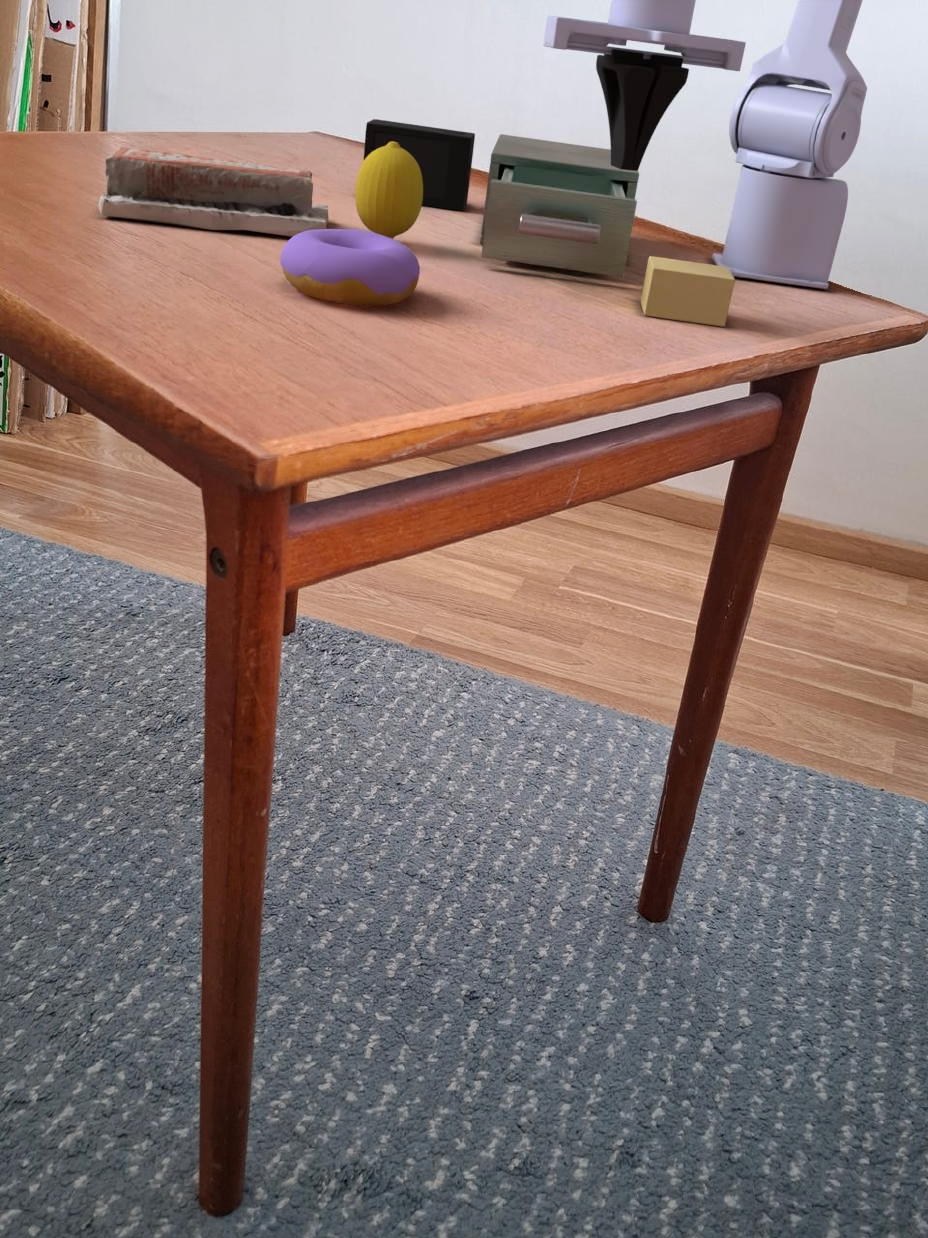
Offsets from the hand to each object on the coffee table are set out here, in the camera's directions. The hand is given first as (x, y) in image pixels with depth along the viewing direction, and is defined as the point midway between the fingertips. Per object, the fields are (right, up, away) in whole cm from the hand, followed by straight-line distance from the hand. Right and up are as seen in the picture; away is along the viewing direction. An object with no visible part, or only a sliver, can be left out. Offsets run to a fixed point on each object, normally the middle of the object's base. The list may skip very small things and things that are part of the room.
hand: (624, 167), depth 88 cm
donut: (-20, -10, -4) cm, 23 cm away
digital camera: (-17, +9, +34) cm, 39 cm away
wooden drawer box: (-4, +2, +24) cm, 24 cm away
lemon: (-18, -2, +12) cm, 22 cm away
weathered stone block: (-32, 0, +12) cm, 35 cm away
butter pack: (+5, -10, +2) cm, 11 cm away
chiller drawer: (-4, -3, +12) cm, 13 cm away
